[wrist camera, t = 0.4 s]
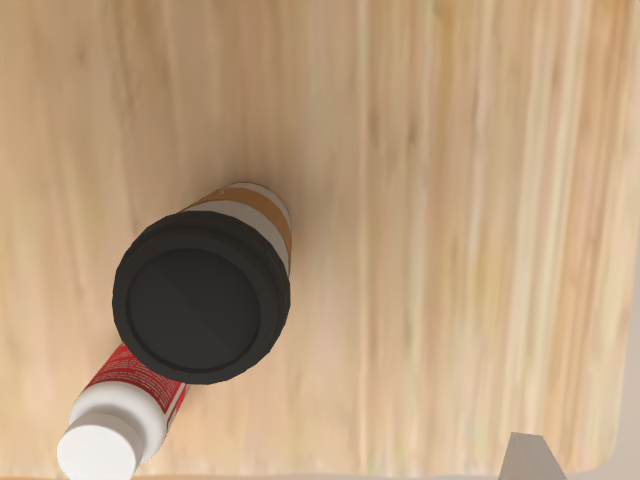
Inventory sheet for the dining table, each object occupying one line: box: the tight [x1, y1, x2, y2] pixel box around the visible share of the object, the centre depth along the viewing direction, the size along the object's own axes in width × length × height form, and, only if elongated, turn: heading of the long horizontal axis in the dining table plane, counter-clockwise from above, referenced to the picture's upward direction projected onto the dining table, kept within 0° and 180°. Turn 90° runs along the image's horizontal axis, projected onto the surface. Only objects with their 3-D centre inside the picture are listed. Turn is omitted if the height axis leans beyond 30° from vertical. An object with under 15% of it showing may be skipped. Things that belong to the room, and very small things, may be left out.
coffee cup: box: [112, 183, 291, 385], centre depth 31 cm, size 8×8×15 cm
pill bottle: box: [57, 342, 191, 480], centre depth 36 cm, size 6×6×11 cm
